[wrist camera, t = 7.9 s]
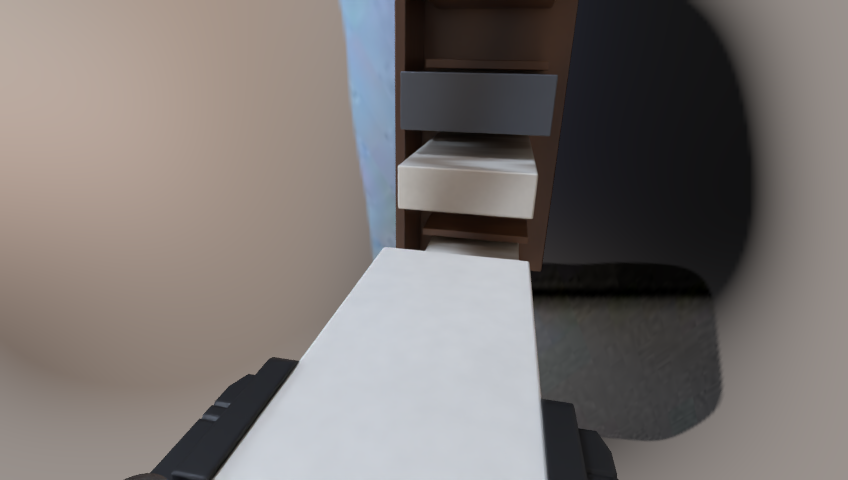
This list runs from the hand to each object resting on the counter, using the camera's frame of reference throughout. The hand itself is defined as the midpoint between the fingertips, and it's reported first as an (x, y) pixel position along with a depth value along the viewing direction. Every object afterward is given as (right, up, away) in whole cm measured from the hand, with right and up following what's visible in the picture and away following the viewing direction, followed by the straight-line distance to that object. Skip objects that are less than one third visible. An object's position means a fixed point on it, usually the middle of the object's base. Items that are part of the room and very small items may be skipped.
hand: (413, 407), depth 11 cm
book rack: (+5, +13, +19) cm, 23 cm away
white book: (+2, +3, +7) cm, 8 cm away
